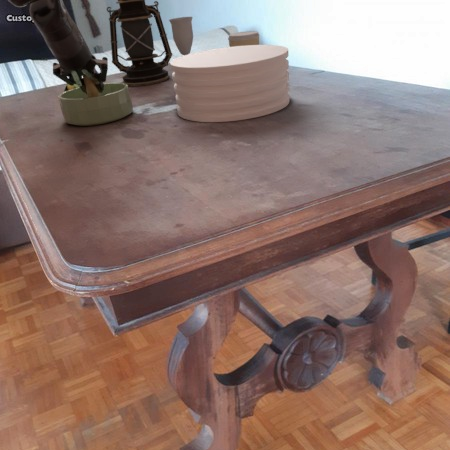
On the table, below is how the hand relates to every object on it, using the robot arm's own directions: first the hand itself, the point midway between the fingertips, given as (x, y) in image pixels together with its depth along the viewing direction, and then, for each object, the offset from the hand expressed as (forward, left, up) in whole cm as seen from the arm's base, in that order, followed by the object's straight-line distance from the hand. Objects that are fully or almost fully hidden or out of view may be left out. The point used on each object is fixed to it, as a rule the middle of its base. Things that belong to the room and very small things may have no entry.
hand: (94, 90), depth 119 cm
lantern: (+13, +43, -7) cm, 46 cm away
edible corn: (-10, +37, -7) cm, 39 cm away
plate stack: (+34, -9, -7) cm, 35 cm away
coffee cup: (+44, +25, -7) cm, 51 cm away
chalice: (+26, +23, -7) cm, 35 cm away
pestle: (0, -2, -5) cm, 5 cm away
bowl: (0, 0, -7) cm, 7 cm away
